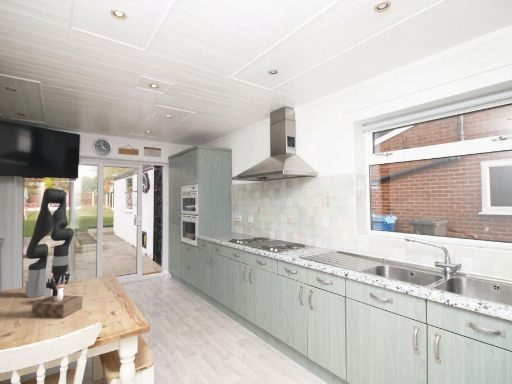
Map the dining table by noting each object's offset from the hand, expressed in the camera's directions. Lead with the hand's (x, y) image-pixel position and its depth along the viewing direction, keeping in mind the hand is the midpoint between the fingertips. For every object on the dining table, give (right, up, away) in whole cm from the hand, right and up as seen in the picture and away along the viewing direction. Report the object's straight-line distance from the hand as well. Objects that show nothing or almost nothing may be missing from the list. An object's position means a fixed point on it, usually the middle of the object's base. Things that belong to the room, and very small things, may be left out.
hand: (58, 294), depth 153 cm
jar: (-15, -11, +16) cm, 24 cm away
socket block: (0, -10, -1) cm, 10 cm away
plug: (0, -8, 0) cm, 8 cm away
